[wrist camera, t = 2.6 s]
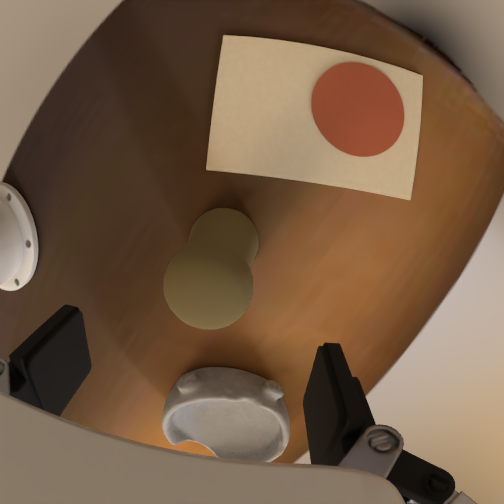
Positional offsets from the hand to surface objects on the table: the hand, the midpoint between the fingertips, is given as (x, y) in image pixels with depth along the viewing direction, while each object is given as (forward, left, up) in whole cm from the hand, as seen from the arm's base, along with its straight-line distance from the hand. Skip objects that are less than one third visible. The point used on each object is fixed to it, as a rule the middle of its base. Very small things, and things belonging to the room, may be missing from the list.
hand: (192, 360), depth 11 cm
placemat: (+7, +12, -16) cm, 21 cm away
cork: (0, 0, -17) cm, 17 cm away
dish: (+2, -19, -17) cm, 25 cm away
